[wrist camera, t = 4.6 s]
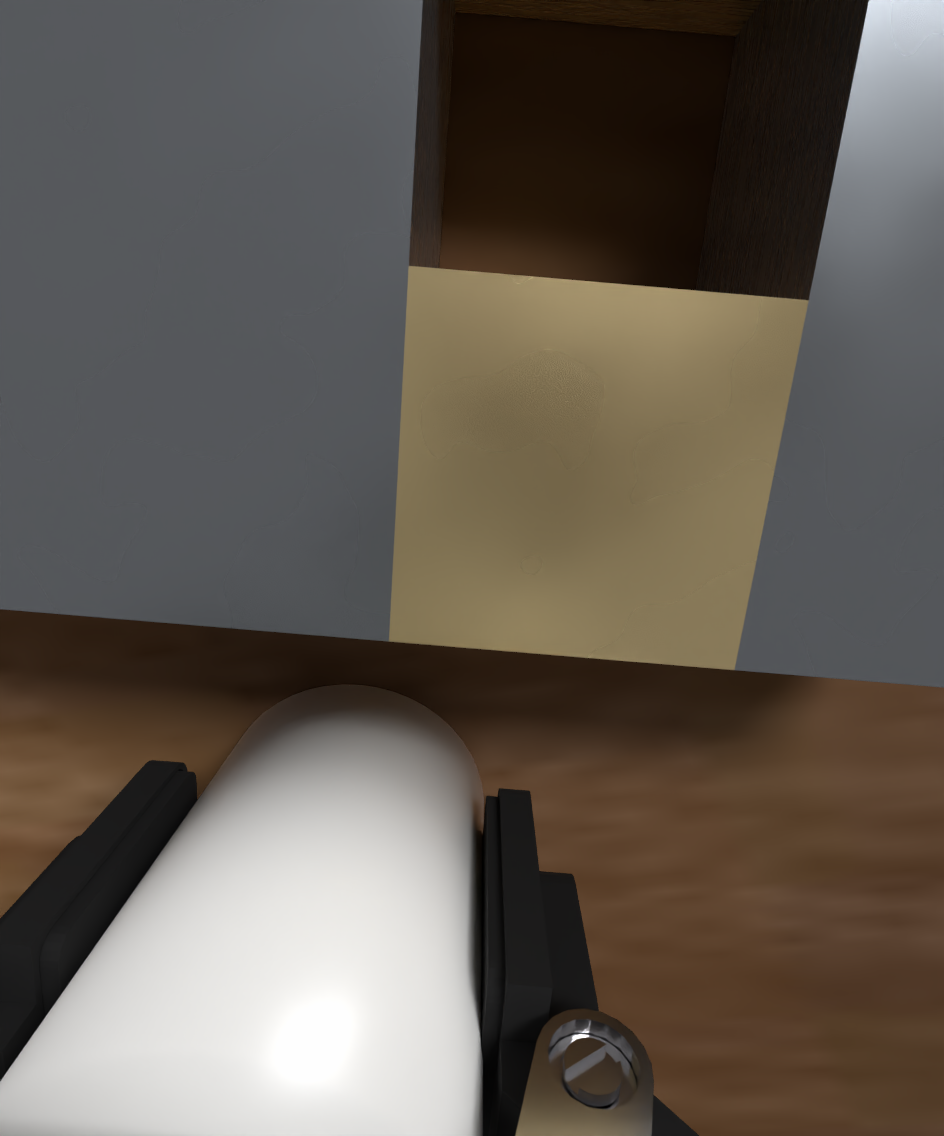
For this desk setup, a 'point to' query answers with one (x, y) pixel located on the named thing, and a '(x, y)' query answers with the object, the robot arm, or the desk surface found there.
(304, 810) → the white capsule cylinder
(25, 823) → the desk surface
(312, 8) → the socket block
